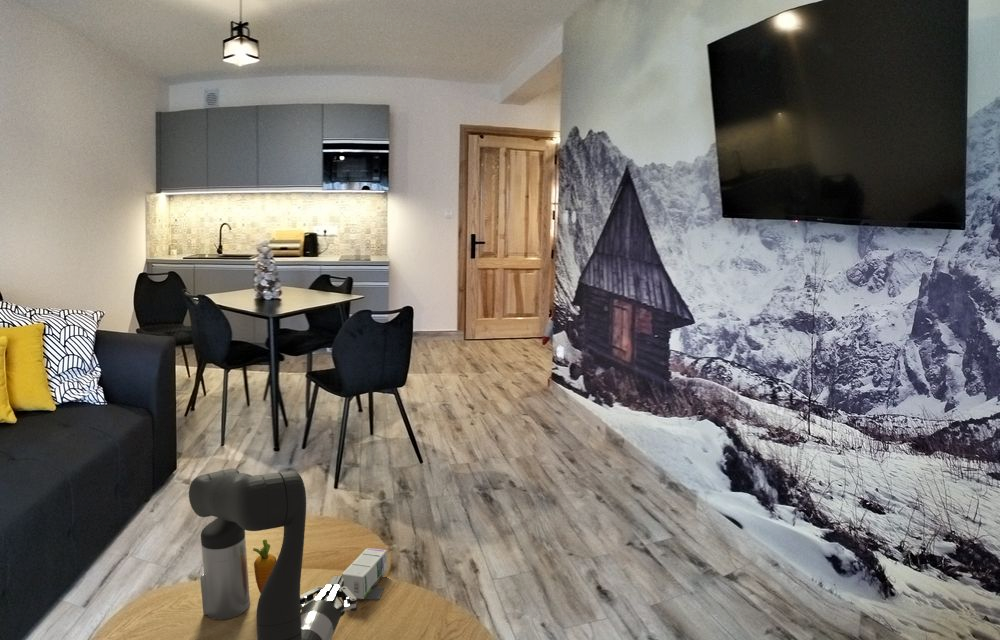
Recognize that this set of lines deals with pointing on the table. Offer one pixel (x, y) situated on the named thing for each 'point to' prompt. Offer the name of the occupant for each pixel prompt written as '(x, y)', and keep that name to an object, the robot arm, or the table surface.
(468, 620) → the table surface
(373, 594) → the grey flat block
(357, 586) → the syrup box
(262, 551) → the carrot
